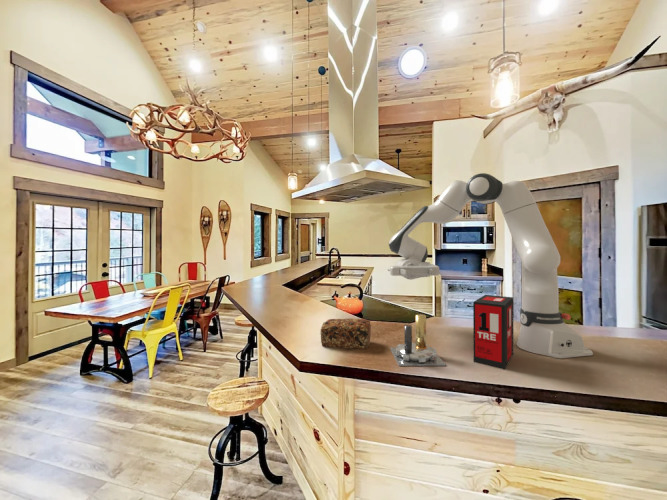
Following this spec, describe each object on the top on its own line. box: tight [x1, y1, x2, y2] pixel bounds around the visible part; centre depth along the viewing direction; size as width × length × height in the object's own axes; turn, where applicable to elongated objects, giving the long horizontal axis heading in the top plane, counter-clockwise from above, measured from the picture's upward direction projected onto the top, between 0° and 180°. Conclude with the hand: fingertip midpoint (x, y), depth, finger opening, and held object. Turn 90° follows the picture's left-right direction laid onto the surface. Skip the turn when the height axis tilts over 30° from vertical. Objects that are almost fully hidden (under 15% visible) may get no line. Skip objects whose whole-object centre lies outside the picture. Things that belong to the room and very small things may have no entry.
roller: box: [414, 314, 427, 348], centre depth 100 cm, size 4×4×11 cm
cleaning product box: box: [472, 294, 514, 370], centre depth 96 cm, size 16×9×20 cm, turn 139°
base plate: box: [389, 346, 447, 367], centre depth 98 cm, size 15×15×1 cm
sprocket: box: [396, 324, 437, 362], centre depth 98 cm, size 14×14×11 cm
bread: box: [320, 318, 372, 350], centre depth 111 cm, size 19×11×10 cm, turn 75°
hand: (419, 272), depth 112 cm, fingers open, 8 cm apart
